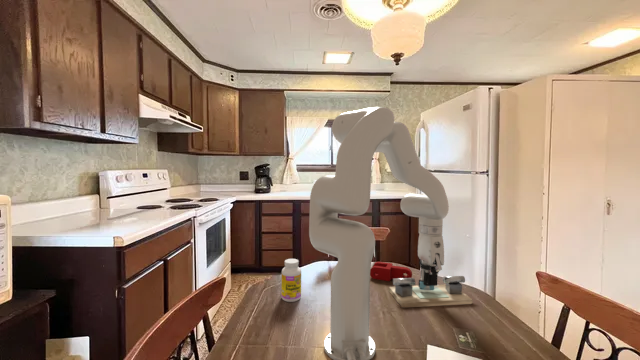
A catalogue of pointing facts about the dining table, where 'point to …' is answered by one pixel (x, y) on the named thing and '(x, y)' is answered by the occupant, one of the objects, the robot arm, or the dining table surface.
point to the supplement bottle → (291, 281)
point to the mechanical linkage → (389, 271)
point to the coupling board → (430, 297)
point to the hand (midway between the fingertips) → (428, 281)
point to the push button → (425, 276)
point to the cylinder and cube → (405, 287)
